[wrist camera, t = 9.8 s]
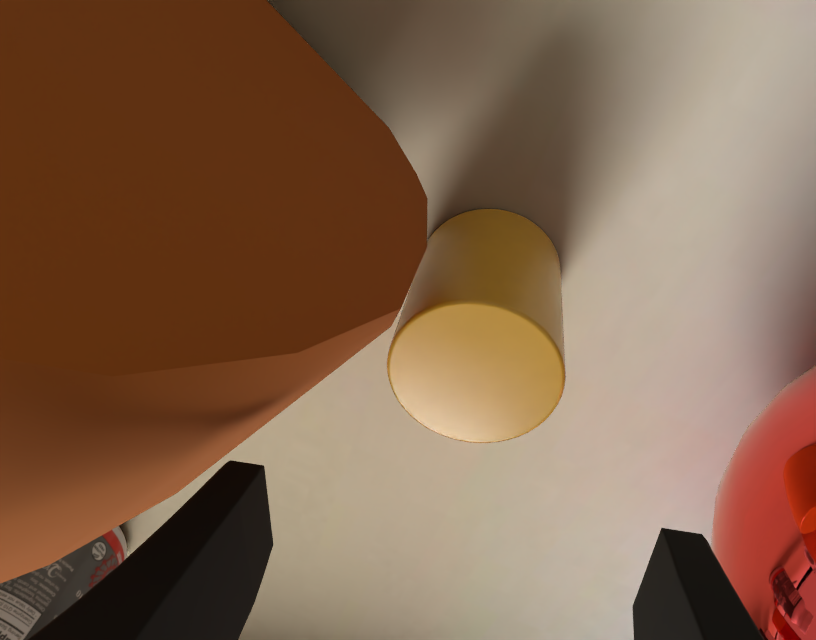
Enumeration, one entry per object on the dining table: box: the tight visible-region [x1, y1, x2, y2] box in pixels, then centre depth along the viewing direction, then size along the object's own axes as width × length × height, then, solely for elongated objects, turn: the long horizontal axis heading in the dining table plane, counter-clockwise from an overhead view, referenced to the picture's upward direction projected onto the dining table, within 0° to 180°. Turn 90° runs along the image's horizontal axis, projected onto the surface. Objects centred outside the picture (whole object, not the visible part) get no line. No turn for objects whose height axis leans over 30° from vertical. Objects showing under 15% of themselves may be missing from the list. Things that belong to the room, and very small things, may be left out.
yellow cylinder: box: [387, 209, 565, 443], centre depth 17 cm, size 4×4×5 cm
